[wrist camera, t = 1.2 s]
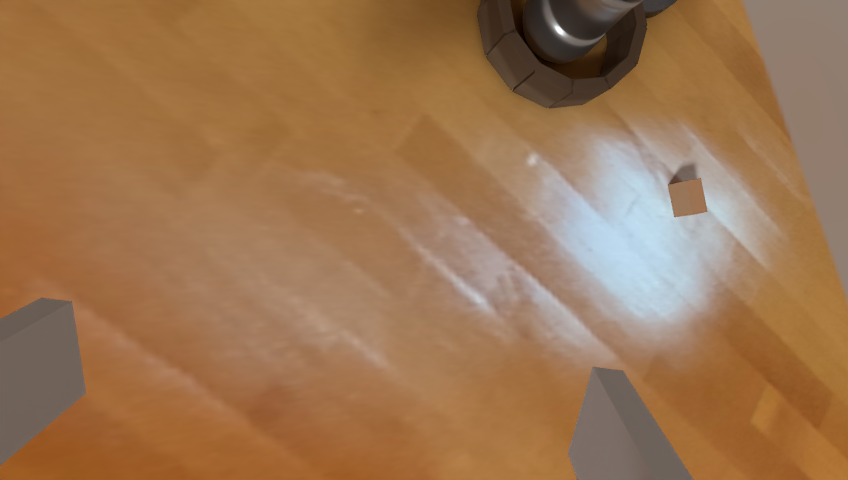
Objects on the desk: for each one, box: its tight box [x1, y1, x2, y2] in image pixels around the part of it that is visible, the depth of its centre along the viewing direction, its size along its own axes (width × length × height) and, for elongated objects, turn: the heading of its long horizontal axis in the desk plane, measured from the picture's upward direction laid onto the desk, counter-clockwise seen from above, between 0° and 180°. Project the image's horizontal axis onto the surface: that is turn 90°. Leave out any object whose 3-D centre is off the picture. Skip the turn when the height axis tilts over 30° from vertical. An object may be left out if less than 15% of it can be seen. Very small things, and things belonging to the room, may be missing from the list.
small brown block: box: [668, 178, 707, 217], centre depth 40 cm, size 3×2×2 cm, turn 11°
